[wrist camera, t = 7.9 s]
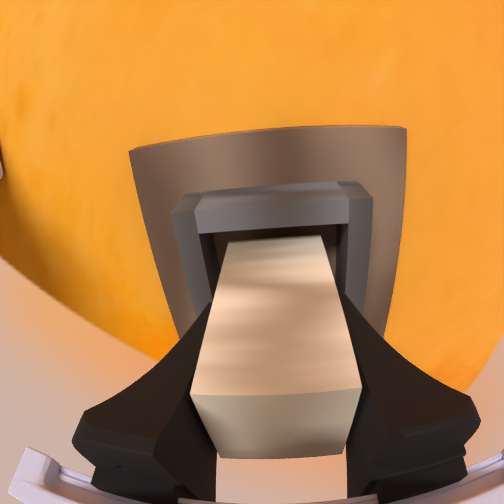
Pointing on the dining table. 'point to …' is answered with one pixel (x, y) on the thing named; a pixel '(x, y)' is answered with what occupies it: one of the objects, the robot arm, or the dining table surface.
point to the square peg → (276, 354)
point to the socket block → (275, 206)
